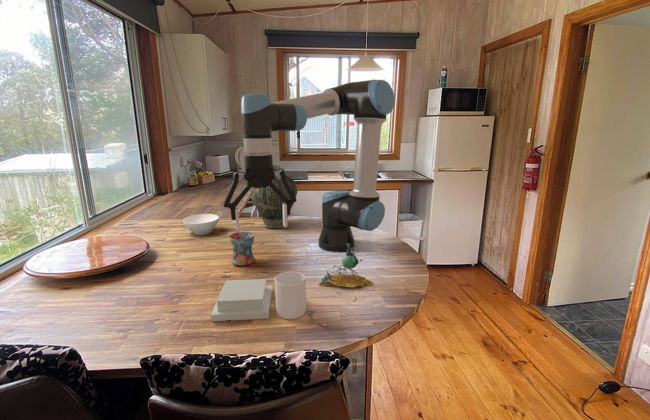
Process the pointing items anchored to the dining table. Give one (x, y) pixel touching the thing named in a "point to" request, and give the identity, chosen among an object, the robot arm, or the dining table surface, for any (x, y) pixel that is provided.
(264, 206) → the vase
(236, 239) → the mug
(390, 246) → the dining table surface
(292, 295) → the mug
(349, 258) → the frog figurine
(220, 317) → the plinth
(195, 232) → the bowl
